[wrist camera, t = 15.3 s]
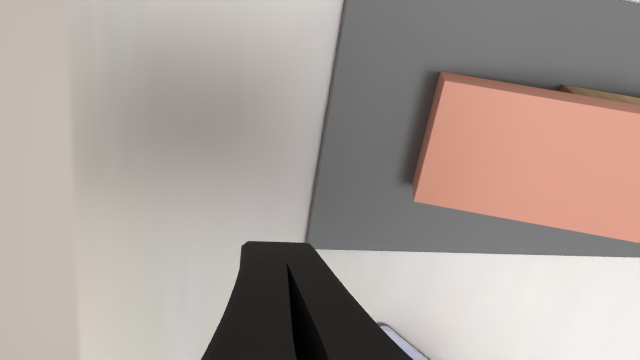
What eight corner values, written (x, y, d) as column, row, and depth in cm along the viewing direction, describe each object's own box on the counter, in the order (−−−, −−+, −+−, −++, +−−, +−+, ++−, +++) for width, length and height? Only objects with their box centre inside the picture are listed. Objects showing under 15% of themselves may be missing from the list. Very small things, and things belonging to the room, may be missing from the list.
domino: (413, 201, 20) (639, 243, 19) (445, 80, 18) (699, 124, 17) (412, 184, 21) (621, 222, 21) (440, 71, 19) (674, 111, 19)
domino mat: (305, 243, 22) (307, 248, 22) (351, -44, 17) (354, -43, 17) (778, 257, 28) (786, 261, 28) (919, 48, 23) (930, 50, 23)
